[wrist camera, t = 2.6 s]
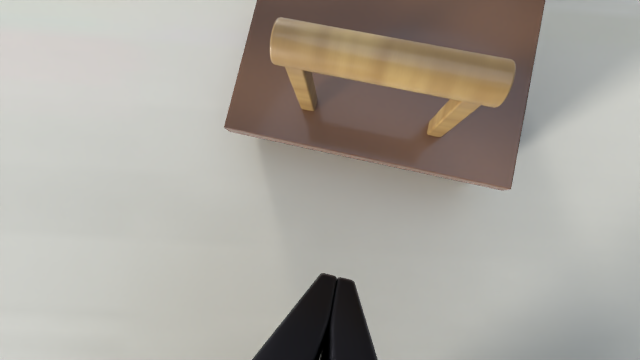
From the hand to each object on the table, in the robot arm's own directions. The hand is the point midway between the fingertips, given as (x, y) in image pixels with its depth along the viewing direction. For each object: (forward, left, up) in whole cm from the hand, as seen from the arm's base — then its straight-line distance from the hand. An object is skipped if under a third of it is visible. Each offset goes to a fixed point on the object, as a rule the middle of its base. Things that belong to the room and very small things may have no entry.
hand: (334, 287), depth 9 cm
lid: (+9, -3, -8) cm, 13 cm away
